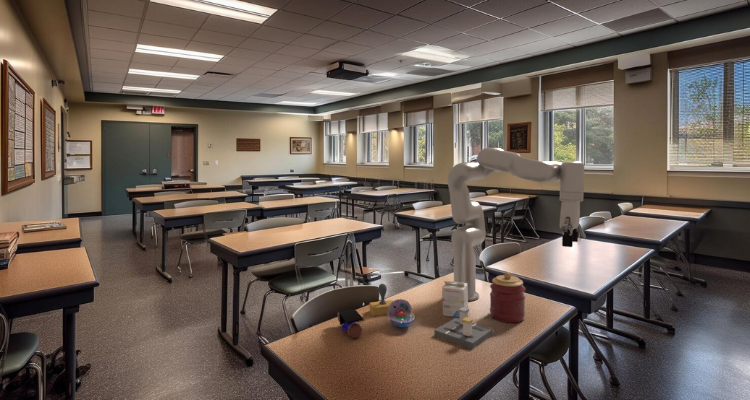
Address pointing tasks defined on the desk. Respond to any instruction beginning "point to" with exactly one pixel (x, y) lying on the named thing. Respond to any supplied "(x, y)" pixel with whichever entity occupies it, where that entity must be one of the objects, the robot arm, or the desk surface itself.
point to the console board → (455, 333)
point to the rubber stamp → (380, 303)
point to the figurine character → (350, 322)
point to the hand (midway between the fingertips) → (570, 244)
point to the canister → (507, 299)
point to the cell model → (400, 313)
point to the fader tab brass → (467, 326)
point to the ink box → (454, 298)
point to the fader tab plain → (463, 313)
